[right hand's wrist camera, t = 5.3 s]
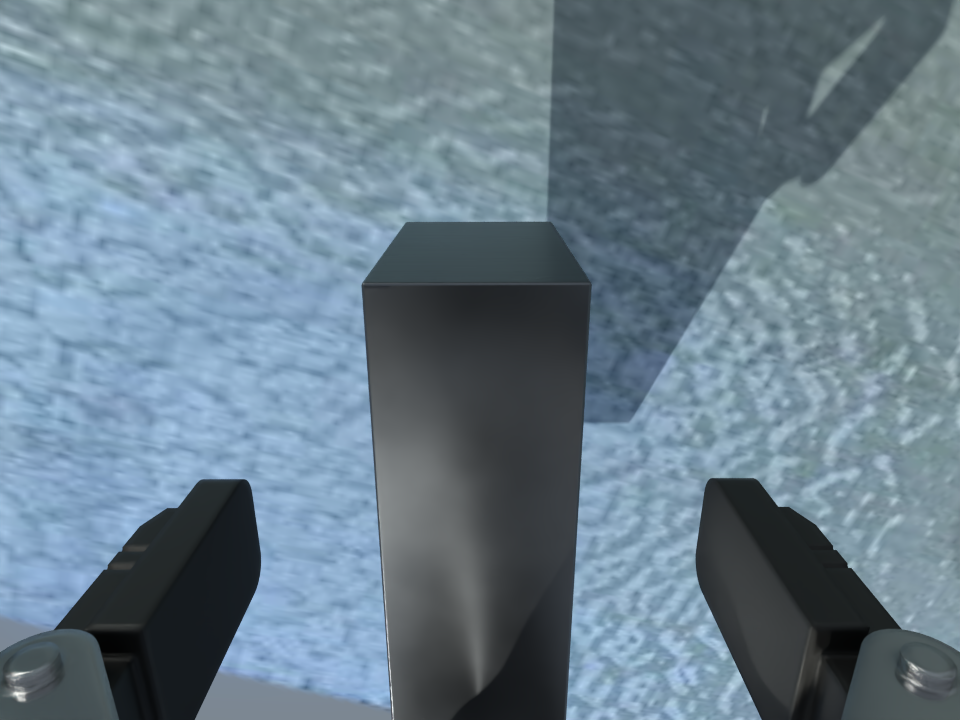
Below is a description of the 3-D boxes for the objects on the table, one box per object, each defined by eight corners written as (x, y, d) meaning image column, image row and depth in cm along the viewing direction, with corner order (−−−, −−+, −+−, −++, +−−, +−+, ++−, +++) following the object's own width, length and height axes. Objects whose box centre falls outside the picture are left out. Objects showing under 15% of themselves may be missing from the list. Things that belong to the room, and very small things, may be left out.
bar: (405, 221, 21) (360, 283, 13) (551, 221, 21) (592, 282, 13) (428, 748, 29) (409, 973, 22) (533, 748, 29) (551, 973, 22)
